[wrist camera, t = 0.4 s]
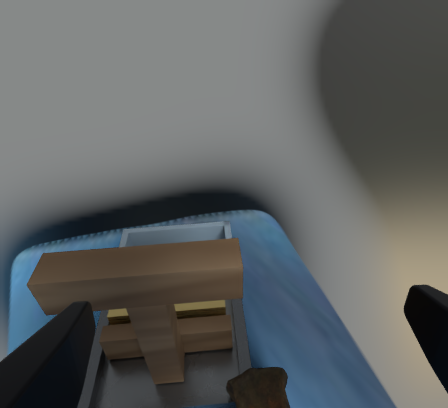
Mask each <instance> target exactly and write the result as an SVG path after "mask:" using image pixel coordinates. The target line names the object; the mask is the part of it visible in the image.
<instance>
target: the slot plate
mask: <svg viewBox="0 0 448 408" xmlns="http://www.w3.org/2000/svg"><path fill="white" fill-rule="evenodd" d="M225 307H226V315H230V316H231V326H232V345H233V348H229V349H218V350H207V351H197V352H186V353H185V359H184V381H183V382H173V383H162V384H154V382H153V379H152V377H151V374H150V371H149V369H148V366H147V363H146V361H145V358H144V356H143V357H132V358H122V359H111V360H108V359H107V357H106V355H105V353H104V351H103V349H102V347H101V345H100V343H99V340H100V336H101V332H102V328H103V326H108V325H110V323H109V321H108V318H107V315H108V311H109V310H102V311H101V313H100V317H99V321H98V325H97V328H96V332H95V336H94V340H93V345H92V350H91V354H90V359H89V364H88V368H87V373H86V378H85V382H84V386H83V391H82V394H81V397H80V401H79V404H78V407H77V408H236V404H235V402H234V401H233V400H232V398H231V397H230V395H229V394H228V393H227V391H226V385H227V382H228V380H230V379H233V378H234V377H236V376H238V375H240V374H242V373H243V372H244V371H246V370H247V369H249V368H251V361H250V354H249V347H248V340H247V333H246V326H245V319H244V312H243V305H242V298H240V299H228V300H225Z"/></svg>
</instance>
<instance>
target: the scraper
mask: <svg viewBox="0 0 448 408" xmlns="http://www.w3.org/2000/svg"><path fill="white" fill-rule="evenodd" d="M27 286H28V288H29V290H30V291H31V293H32V294H33V296H34V297H35V299H36V300H37V302H38V304H39V305H40V307H41V308H42V310H43V311H44V313H45V314H46V315H56V314H59V313H60V312H62V311H63V310H64V309H65V308H66V307H68V306H69V305H70V304H71V303H73V302H77V301H89V302H90V303H91V306H92V310H93V311H102V310H114V309H125V308H126V310H127V313H128V315H129V318H130V321H131V323H130V324H119V325H108V326H103V328H102V332H101V336H100V340H99V343H100V345H101V347H102V349H103V351H104V353H105V355H106V357H107V359H108V360H111V359H122V358H132V357H143V356H144V358H145V361H146V363H147V366H148V369H149V371H150V374H151V377H152V379H153V382H154V384H162V383H173V382H183V381H184V359H185V353H186V352H197V351H207V350H218V349H229V348H233V345H232V326H231V316H230V315H220V316H209V317H197V318H186V319H177V315H176V310H175V306H174V304H182V303H194V302H205V301H217V300H228V299H240V298H243V265H242V258H241V252H240V246H239V240H238V238H230V239H217V240H205V241H192V242H180V243H167V244H154V245H142V246H129V247H117V248H104V249H92V250H79V251H66V252H54V253H43V254H42V256H41V258H40V260H39V262H38V264H37V266H36V268H35V270H34V272H33V273H32V275H31V277H30V279H29V281H28V283H27Z"/></svg>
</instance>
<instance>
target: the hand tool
mask: <svg viewBox="0 0 448 408" xmlns="http://www.w3.org/2000/svg"><path fill="white" fill-rule="evenodd" d="M287 379H288V376H287V373H286V372H285V370H284V369H283V368H280V367H268V368H257V369H256V368H249V369H247V370H246V371H244V372H243V373H242V374H240V375H238V376H236V377H234V378H233V379H230V380H228V382H227V385H226V391H227V393H228V394H229V395H230V397H231V398H232V400H233V401H234V402H235V404H236V408H290V405H289V402H288V399H287V395H286V392H285V388H286V384H287Z"/></svg>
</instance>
